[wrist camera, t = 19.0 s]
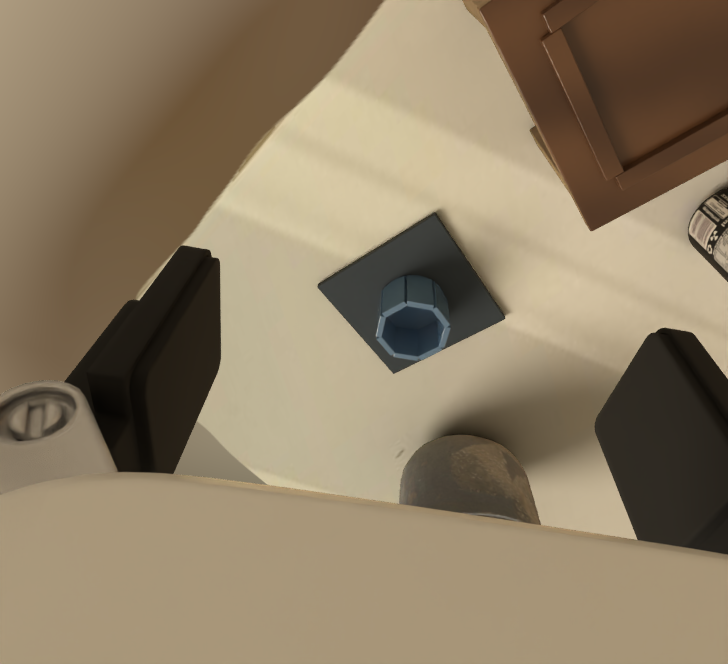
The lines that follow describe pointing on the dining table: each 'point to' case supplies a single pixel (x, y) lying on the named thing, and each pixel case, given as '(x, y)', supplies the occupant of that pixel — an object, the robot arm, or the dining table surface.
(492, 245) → the dining table surface
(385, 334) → the bowl small
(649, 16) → the small table
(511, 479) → the bowl
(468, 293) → the mat
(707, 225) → the beverage can
